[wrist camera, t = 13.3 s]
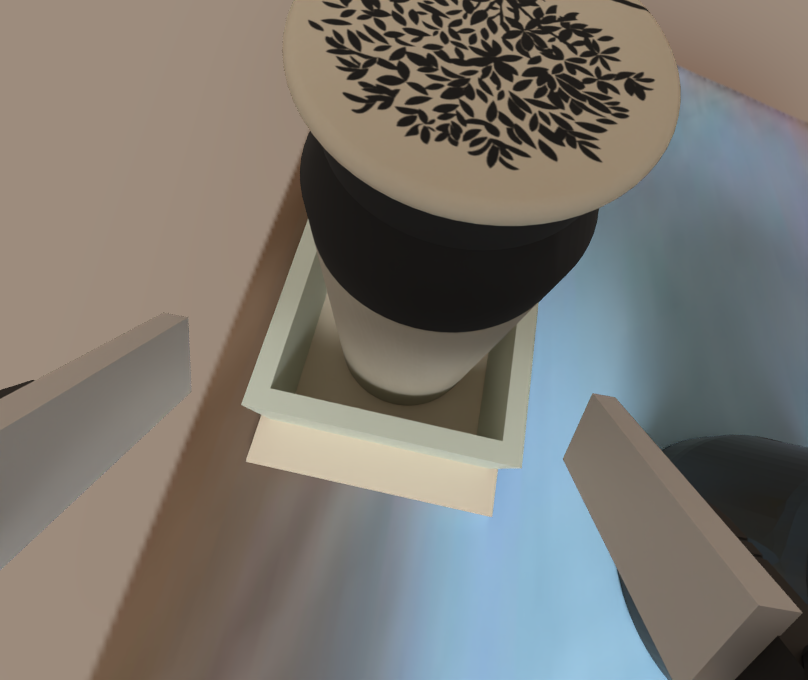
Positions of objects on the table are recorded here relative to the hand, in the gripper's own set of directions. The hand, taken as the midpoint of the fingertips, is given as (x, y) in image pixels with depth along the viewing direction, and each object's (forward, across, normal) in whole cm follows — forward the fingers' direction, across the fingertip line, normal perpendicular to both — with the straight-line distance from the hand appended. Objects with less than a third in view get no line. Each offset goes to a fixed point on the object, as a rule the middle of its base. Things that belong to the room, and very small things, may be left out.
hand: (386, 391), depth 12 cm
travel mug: (+11, +1, -3) cm, 12 cm away
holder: (+12, +1, -4) cm, 12 cm away
